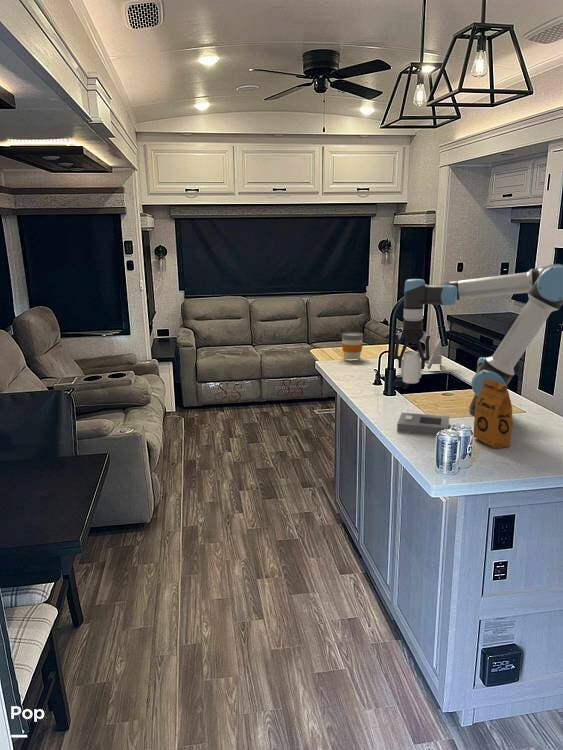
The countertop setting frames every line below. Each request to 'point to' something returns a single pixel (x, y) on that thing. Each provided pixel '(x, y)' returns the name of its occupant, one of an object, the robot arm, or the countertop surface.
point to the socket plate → (422, 423)
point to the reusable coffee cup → (352, 345)
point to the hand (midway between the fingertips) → (410, 376)
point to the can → (411, 367)
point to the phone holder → (434, 355)
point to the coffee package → (493, 415)
